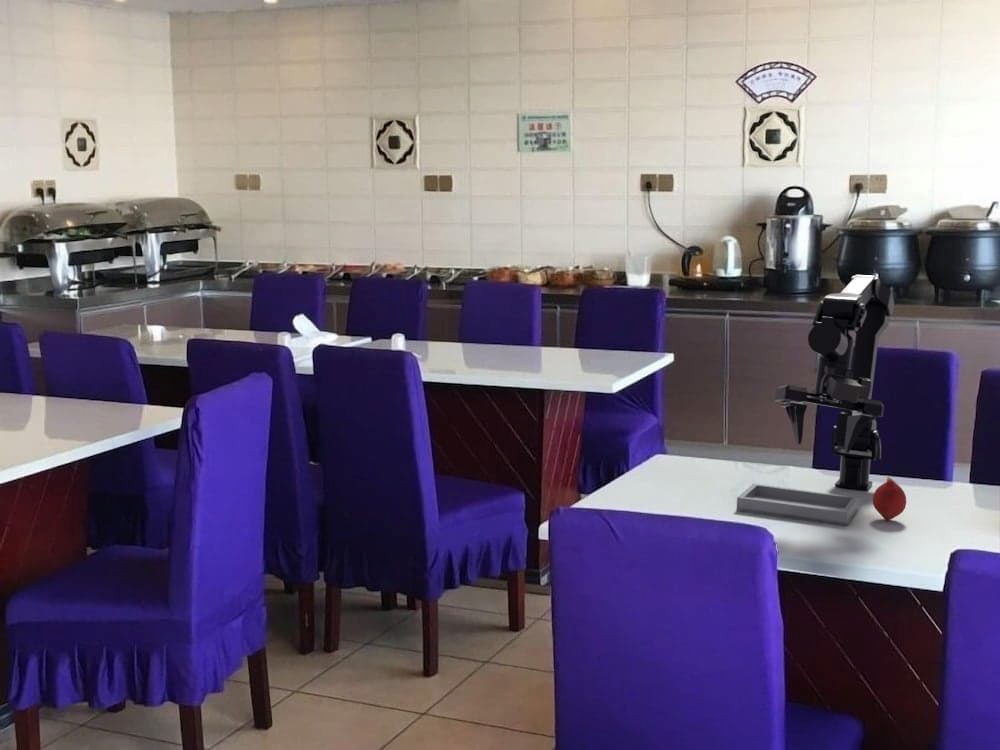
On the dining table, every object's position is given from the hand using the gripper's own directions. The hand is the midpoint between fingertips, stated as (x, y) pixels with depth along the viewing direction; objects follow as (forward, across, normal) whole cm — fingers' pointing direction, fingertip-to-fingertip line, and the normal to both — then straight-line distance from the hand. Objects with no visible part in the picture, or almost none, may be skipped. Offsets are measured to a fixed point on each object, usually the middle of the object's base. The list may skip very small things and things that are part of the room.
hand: (822, 448), depth 219 cm
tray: (+12, 0, +8) cm, 14 cm away
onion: (+11, +15, +1) cm, 18 cm away
